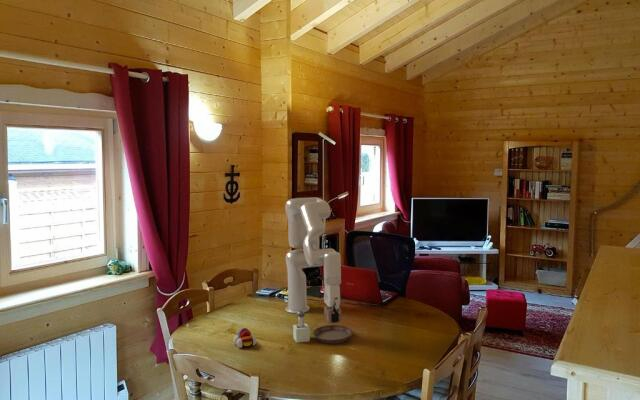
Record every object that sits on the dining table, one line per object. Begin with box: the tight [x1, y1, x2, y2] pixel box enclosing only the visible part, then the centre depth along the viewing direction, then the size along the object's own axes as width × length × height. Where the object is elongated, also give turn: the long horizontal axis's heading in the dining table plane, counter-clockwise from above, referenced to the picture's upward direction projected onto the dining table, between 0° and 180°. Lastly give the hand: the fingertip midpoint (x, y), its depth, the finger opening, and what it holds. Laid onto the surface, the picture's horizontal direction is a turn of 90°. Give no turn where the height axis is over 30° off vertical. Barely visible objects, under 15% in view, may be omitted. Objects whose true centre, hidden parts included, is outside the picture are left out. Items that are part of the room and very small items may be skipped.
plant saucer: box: [312, 324, 354, 344], centre depth 235 cm, size 18×18×3 cm
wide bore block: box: [292, 323, 311, 343], centre depth 233 cm, size 6×6×6 cm
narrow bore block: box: [323, 305, 342, 325], centre depth 234 cm, size 6×6×6 cm
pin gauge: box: [297, 311, 305, 328], centre depth 233 cm, size 3×3×12 cm
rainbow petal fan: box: [233, 327, 257, 349], centre depth 228 cm, size 8×10×7 cm
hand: (332, 319), depth 234 cm, fingers closed on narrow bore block, 6 cm apart
